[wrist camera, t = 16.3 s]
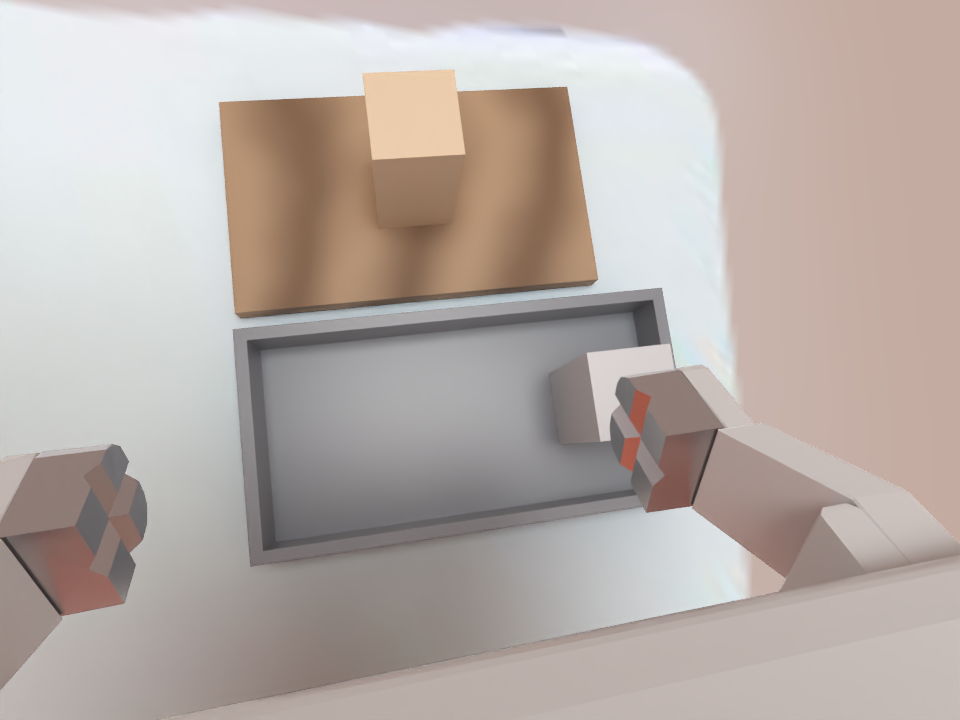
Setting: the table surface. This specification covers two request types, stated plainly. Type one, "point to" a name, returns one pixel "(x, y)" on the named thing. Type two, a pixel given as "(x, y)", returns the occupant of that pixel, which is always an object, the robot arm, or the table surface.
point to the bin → (425, 422)
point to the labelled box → (414, 146)
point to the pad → (404, 250)
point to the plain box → (598, 389)
